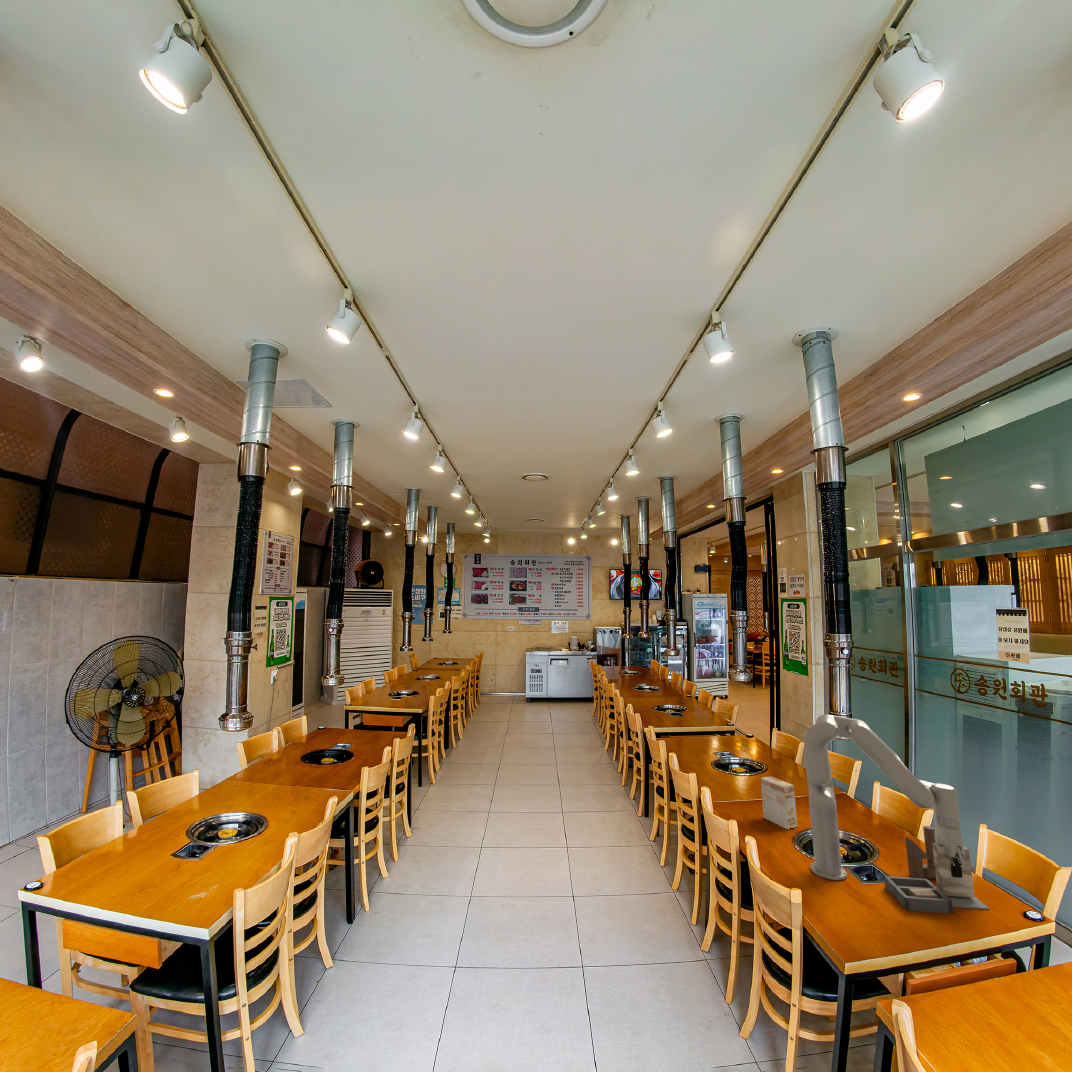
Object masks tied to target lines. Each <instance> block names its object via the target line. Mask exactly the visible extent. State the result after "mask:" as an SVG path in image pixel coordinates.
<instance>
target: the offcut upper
mask: <svg viewBox="0 0 1072 1072" xmlns="http://www.w3.org/2000/svg"><path fill="white" fill-rule="evenodd" d="M909 895H910V896H912V897H926V898H937V895H936V894H935V893H933V892H932V891H931V890H930V889H909Z"/></svg>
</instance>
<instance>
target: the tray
mask: <svg viewBox="0 0 1072 1072" xmlns="http://www.w3.org/2000/svg"><path fill="white" fill-rule="evenodd" d="M883 878H884V879H883V880H884V887H885V889H886V890H887V891H888V892H889V893H890V894H891V895H892V897H894V898H895V899H896V900H897V902H898V903H899V904H900V905H901V906H902V907H903V908H904V909H905V910H906V911H910V912H911V911H914V912H926V913H935V914H936V913H937V914H949V915H950V914H951V915H953V914H954V907H952V901H951V900H950V899H949V898H948V897H947V896H946V895H944V894H943V893H942V892H941V891H940V890H939V889H938V888H937V885H934V884H933V883H932V882H931V881H930V880H929V878H924V879H923V878H914V877H905V876H904V877H903V876H892V875H884V876H883ZM909 889H930V890H931V891H932V892H933V893H935V894H936V895H937V898H926V897H912V896H910V895H909Z"/></svg>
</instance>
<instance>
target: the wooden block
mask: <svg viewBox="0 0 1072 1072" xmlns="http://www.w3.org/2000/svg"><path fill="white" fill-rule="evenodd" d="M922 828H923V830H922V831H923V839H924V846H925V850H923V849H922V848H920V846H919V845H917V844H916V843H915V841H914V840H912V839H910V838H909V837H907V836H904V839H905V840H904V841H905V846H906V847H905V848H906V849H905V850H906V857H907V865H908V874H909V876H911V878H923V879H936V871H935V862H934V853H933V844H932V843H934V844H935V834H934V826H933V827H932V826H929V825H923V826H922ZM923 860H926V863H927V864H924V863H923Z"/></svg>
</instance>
